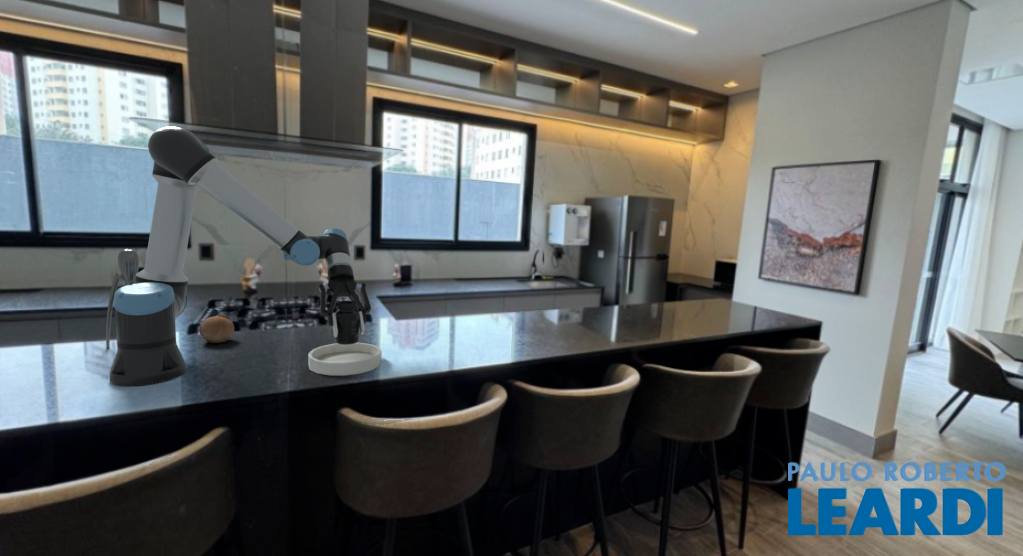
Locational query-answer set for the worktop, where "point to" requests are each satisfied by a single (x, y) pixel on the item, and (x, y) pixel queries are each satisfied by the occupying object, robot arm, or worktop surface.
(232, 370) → the worktop surface
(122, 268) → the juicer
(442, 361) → the worktop surface
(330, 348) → the round tray
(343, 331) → the supplement bottle
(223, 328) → the onion
